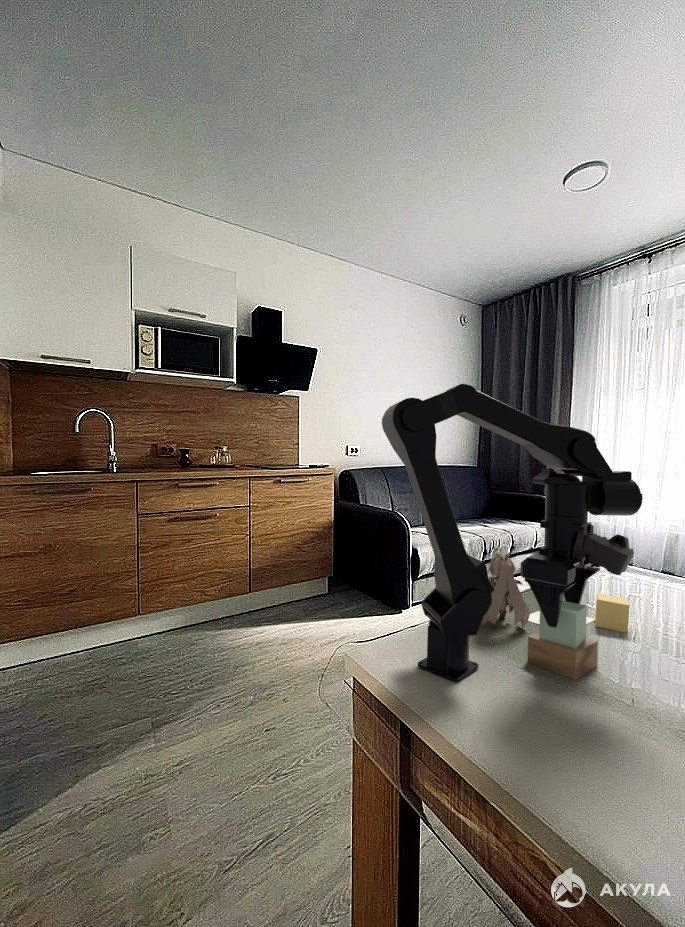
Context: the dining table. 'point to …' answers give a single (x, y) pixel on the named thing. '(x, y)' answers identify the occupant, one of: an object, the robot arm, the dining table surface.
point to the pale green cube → (566, 626)
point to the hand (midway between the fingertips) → (563, 619)
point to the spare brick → (612, 612)
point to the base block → (563, 656)
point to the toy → (505, 591)
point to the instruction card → (536, 618)
